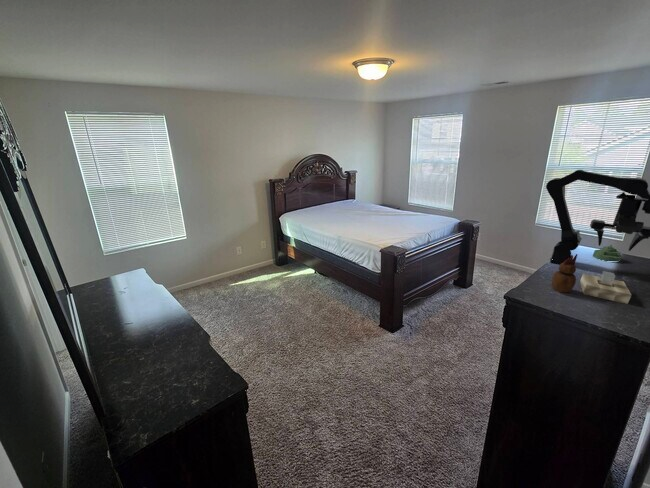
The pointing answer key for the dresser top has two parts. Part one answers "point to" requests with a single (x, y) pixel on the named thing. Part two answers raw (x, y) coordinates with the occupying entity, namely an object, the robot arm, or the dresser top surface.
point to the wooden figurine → (565, 276)
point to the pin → (607, 278)
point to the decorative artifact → (607, 254)
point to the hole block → (605, 289)
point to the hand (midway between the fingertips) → (613, 248)
